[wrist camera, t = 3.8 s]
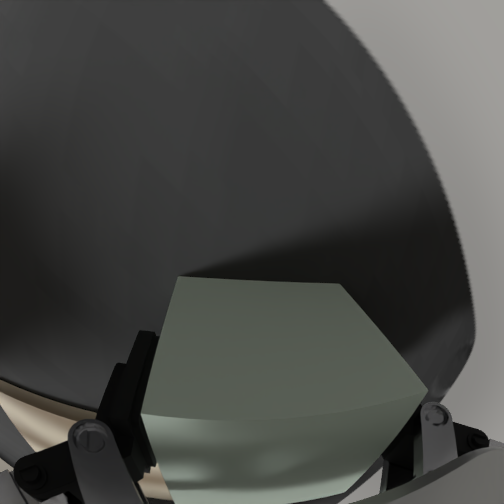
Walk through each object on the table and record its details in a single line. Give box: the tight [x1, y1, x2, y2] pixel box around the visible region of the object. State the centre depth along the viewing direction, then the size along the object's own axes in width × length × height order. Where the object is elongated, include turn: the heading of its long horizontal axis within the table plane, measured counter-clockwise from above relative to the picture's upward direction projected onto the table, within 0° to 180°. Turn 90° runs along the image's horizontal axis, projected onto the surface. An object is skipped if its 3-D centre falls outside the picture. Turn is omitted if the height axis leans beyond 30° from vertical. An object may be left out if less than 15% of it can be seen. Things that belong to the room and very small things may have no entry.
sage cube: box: [141, 276, 428, 504], centre depth 8 cm, size 6×6×6 cm
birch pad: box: [0, 380, 173, 500], centre depth 13 cm, size 12×12×1 cm
